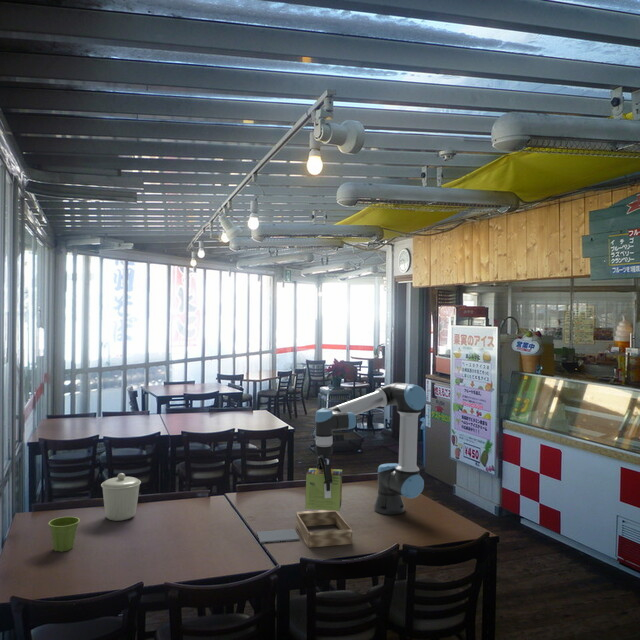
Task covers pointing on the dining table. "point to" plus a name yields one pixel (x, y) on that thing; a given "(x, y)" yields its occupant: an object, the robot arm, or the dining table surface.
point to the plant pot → (63, 532)
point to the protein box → (317, 490)
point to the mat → (278, 535)
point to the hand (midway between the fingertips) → (324, 493)
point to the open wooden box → (325, 536)
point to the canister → (120, 497)
